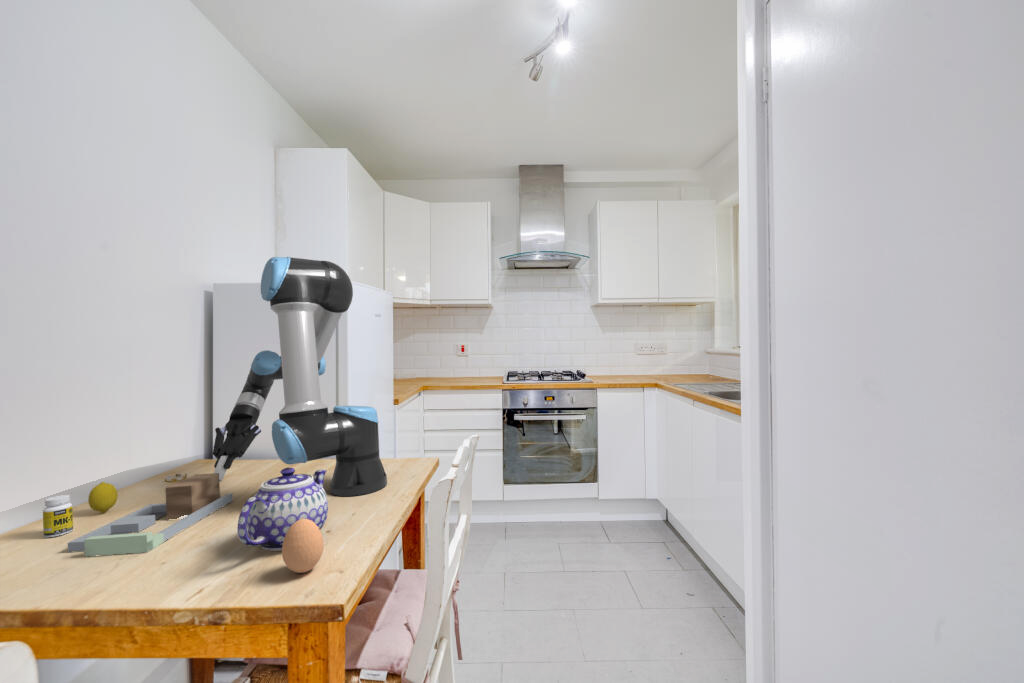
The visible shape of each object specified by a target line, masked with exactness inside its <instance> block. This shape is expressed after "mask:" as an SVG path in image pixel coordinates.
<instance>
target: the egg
mask: <svg viewBox="0 0 1024 683" xmlns="http://www.w3.org/2000/svg"><path fill="white" fill-rule="evenodd" d="M324 546H325V545H324V537H323V533H322V531H321V529H319V527H318V526H317V525H316V524H315V523H314V522H313V521H311V520H309V519H300V520H298V521H296V522H295V523H294V524H292V525H291V527H290V528H289V530H288V531H287V533H286V535H285V538H284V541H283V546H282V550H281V552H282V560H283V562H284V564H285V565H286V567H287V568H288V569H289V570H291V571H292V572H294V573H297V574H304V573H307V572H309V571H311V570H312V569H313V568H314V567H316V566H317V564H318V563H319V561H320V560H321V557H322V556H323V552H324Z"/></svg>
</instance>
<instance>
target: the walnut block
mask: <svg viewBox="0 0 1024 683" xmlns="http://www.w3.org/2000/svg"><path fill="white" fill-rule="evenodd" d="M220 485H221V484H220V481H219V473H214V472H213V473H212V472H211V473H201V474H200V473H197V474H194V475H191V476H190V477H187V478H185V479H182V480H180V481H177V482H175V483H174V484H171V485H169V486H166V487H165V503H166V512H167V515H166V521H170V520H169V519H177V518H179V517H181V516H184V515H190V514H192V513H194V512H195V511H197V510H199V509H201V508H203V507H204V506H206V505H208V504H210V503H211V502H213V501H215V500H217V499H219V498H220V497H221V489H220V487H221V486H220Z"/></svg>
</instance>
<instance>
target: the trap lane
mask: <svg viewBox="0 0 1024 683" xmlns="http://www.w3.org/2000/svg"><path fill="white" fill-rule="evenodd" d="M232 500H233V493H226V494H224V495H223V496H220V498H219V499H217V500H215V501H213V502H211V503H210V504H208V505H206V506H204V507H203V508H201V509H199V510H197V511H195V512H194V513H192V514H190V515H188V516H187V517H185V518H183V519H181V520H178V521H176V522H174V523H173V524H171V525H169V526H167V527H166V528H163V529H162V530H160V531H159V532H156V533H154V534H153V532H152V531H149V532H148V531H147V532H142V531H144V530H146V529H148V528H149V526H150V527H151V526H153V525H155V524H156V521H157V520H159V519H161V518H162V516H163V517H165V516H167V515H166V514H167V512H166V502H164V503H163V502H162V503H152V504H151V503H150V504H148V505H145V506H144V507H141V508H139V509H137V510H135V511H132V512H131V513H128V514H127V515H124V516H122V517H119V518H117V519H115V520H113V521H111V522H109V523H107V524H105V525H103V526H100V527H98V528H97V529H94V530H91V531H90V532H88V533H85V534H84V535H81V536H79V537H77V538H74V539H72V540H71V541H68V542H67V552H68V553H71V552H70V551H81V552H84V557H85V556H94V557H97V556H96V555H107V556H114V555H113V554H121V555H127V554H126V553H134V554H144V553H143V552H147V553H149V552H151V551H152V550H154V549H156V548H157V547H159V546H160V545H159V544H161V543H162V542H164V541H165V540H167V539H169V538H170V537H172V536H173V535H175V534H176V533H178V532H180V531H181V530H183V529H185V528H187V527H188V526H190V525H192V524H194V523H195V522H197V521H199V520H200V519H202V518H204V517H205V516H207V515H208V514H210V513H212V512H214V511H215V510H217V509H219V508H220V509H222V508H223V507H222V506H224V505H225V506H227V505H228V504H227V503H229V502H230V503H231V501H232ZM233 501H234V500H233ZM233 501H232V502H233ZM230 503H229V504H230ZM226 504H227V505H226ZM225 506H224V507H225ZM221 507H222V508H221ZM220 509H219V510H220ZM217 511H218V510H217ZM215 512H216V511H215ZM215 512H214V513H215ZM212 514H213V513H212ZM164 515H165V516H164ZM210 515H211V514H210ZM160 517H161V518H160ZM207 517H208V516H207ZM158 518H159V519H158ZM205 518H206V517H205ZM205 518H204V519H205ZM202 520H203V519H202ZM200 521H201V520H200ZM200 521H199V522H200ZM154 523H155V524H154ZM197 523H198V522H197ZM195 524H196V523H195ZM195 524H194V525H195ZM192 526H193V525H192ZM147 527H148V528H147ZM190 527H191V526H190ZM145 528H146V529H145ZM143 529H144V530H143ZM187 529H188V528H187ZM141 530H142V531H141ZM139 531H140V532H139ZM131 532H135V533H131ZM129 533H130V534H129ZM172 538H173V537H172ZM169 540H170V539H169ZM167 541H168V540H167ZM164 543H165V542H164ZM162 544H163V543H162ZM162 544H161V545H162ZM158 545H159V546H158ZM156 546H157V547H156ZM155 547H156V548H155ZM153 548H154V549H153ZM150 550H151V551H150ZM148 551H149V552H148Z"/></svg>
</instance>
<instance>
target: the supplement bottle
mask: <svg viewBox="0 0 1024 683" xmlns="http://www.w3.org/2000/svg"><path fill="white" fill-rule="evenodd" d="M44 505H45V508H43V510H42V523H43V524H42V527H43V529H42V530H43V531H42V532H43V537H44V538H45V539H49V537H52V538H56V537H55V536H58V537H60V536H59V535H62V536H64V535H63V534H65V535H67V534H69V532H70V533H72V532H73V531H72V530H74V514H73V513H74V510H73V504H72V503H71V495H70V494H61V495H55V496H51V497H49V498H46V499H44ZM66 533H67V534H66Z"/></svg>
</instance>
